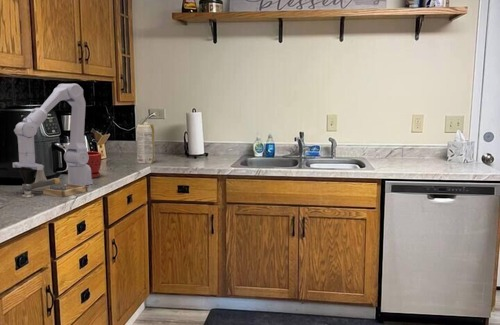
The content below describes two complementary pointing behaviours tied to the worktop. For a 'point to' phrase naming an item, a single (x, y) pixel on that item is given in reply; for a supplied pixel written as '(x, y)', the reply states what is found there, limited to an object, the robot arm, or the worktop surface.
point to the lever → (40, 184)
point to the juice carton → (145, 143)
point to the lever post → (27, 193)
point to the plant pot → (94, 163)
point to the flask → (40, 177)
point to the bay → (66, 191)
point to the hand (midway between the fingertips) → (28, 186)
